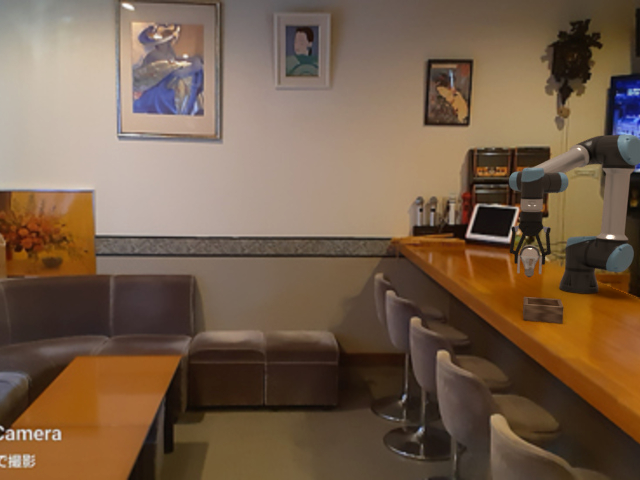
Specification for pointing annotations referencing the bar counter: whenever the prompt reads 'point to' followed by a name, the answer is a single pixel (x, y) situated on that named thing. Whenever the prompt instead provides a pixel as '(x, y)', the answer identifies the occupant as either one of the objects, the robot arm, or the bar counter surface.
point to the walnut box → (543, 310)
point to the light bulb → (529, 258)
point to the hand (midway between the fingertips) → (529, 272)
